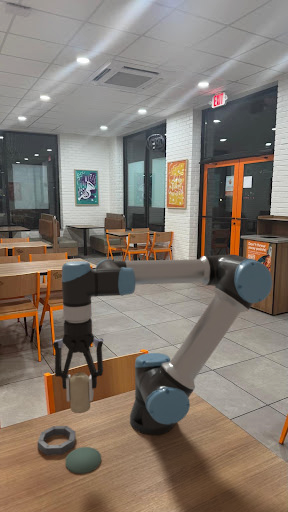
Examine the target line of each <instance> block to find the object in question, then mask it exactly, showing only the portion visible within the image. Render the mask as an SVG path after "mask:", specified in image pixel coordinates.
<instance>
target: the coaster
mask: <svg viewBox="0 0 288 512" xmlns="http://www.w3.org/2000/svg"><path fill="white" fill-rule="evenodd" d="M101 462H102V456H101V453H100V451H99V450H97V449H96V448H94V447H91V446H90V447H89V446H83V447H78V448H75V449H74V450H71V451H70V452H69V453H68V454H67V456H66V457H65V467H66V468H67V470H68V471H70V472H71V473H74V474H77V475H78V474H87V473H90V472H93V471H94V470H96V469H97V468H98V467H99V465H101Z"/></svg>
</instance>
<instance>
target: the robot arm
mask: <svg viewBox="0 0 288 512" xmlns="http://www.w3.org/2000/svg"><path fill="white" fill-rule="evenodd" d="M192 283H194V284H195V283H196V284H197V283H199V284H201V285H202V286H213V287H214V289H213V290H214V294H215V296H214V297H213V298H212V300H211V302H210V303H209V304H208V306H207V307H206V308H205V310H204V312H203V313H202V314H201V316H200V317H199V319H198V320H197V322H195V325H194V326H193V328H192V329H191V331H190V332H189V333H188V335H187V336H186V338H185V340H184V341H183V342H182V344H181V345H180V347H179V348H178V350H177V351H176V352H175V354H174V355H173V357H172V358H170V356H168V355H167V354H164V353H158V352H154V353H153V352H151V353H150V352H148V353H143V354H141V355H138V356H137V357H136V359H135V363H134V370H135V371H134V377H135V380H134V381H135V383H134V385H135V388H134V389H135V391H134V395H135V399H134V402H133V405H132V408H131V411H130V415H129V420H130V421H129V423H130V426H131V427H132V428H133V430H135V431H137V432H139V433H141V434H144V435H147V436H149V435H150V436H151V435H153V436H155V435H157V436H158V435H162V434H165V433H168V432H169V431H171V430H172V429H173V428H174V427H175V424H177V423H179V422H181V421H182V420H183V419H184V418H185V417H186V416H187V414H188V413H189V410H190V407H191V405H190V403H191V402H190V396H191V395H192V393H193V391H194V390H195V388H196V386H195V385H196V384H195V379H196V378H197V376H198V375H199V374H200V373H201V371H202V369H203V368H204V366H205V365H206V363H207V362H208V360H209V358H210V357H211V356H212V354H213V353H214V351H215V350H216V348H217V347H218V346H219V344H220V343H221V341H222V340H223V339H224V337H225V335H226V334H227V333H228V331H229V330H230V328H231V327H232V325H233V324H234V322H235V320H236V319H237V318H238V316H239V315H240V314H241V313H244V312H248V311H249V310H250V309H251V307H252V306H253V304H256V303H259V302H260V303H261V302H263V301H264V300H265V299H267V297H268V296H270V295H269V294H270V293H271V290H272V287H273V279H272V273H271V271H270V270H269V268H268V267H267V266H266V265H265V264H264V263H262V262H260V261H258V260H256V259H255V258H248V257H244V256H241V255H238V254H222V255H208V256H207V255H206V256H205V255H202V256H201V257H200V258H199V259H198V258H197V259H157V260H156V259H154V260H153V259H152V260H147V259H146V260H143V259H142V260H112V259H103V260H100V261H99V262H98V263H97V264H96V266H95V268H92V267H91V264H90V262H89V261H84V260H82V261H79V260H77V261H75V260H74V261H69V262H67V261H66V262H65V263H64V264H63V265H62V267H61V286H62V288H61V291H62V310H63V311H62V312H63V313H62V314H63V316H62V317H63V319H64V320H63V337H62V338H60V339H58V338H56V339H55V340H54V342H53V343H52V346H53V348H54V375H55V377H56V378H57V377H60V378H61V380H62V389H63V390H66V402H70V378H71V377H72V376H71V374H68V373H69V370H70V366H71V362H72V360H73V355H74V354H76V353H79V354H80V353H82V355H83V357H84V358H85V362H86V365H87V367H88V371H89V373H90V375H89V376H88V377H89V400H90V402H93V399H94V389H96V388H97V385H98V381H97V380H98V378H97V377H102V376H103V374H104V373H103V372H104V364H103V363H104V362H103V347H102V346H103V344H104V339H103V338H101V337H100V338H95V336H94V334H93V320H92V316H93V315H92V297H94V298H95V297H115V296H121V297H122V296H125V295H126V296H127V295H132V294H134V293H135V291H136V285H158V284H159V285H162V284H164V285H165V284H192ZM92 344H94V347H95V348H96V364H97V368H96V365H95V362H94V358H93V357H92V354H91V350H90V349H91V348H90V347H91V345H92ZM63 345H65V346H66V348H67V349H68V352H67V356H66V359H65V363H64V368H63V369H62V348H63Z"/></svg>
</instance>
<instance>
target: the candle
mask: <svg viewBox="0 0 288 512" xmlns="http://www.w3.org/2000/svg"><path fill="white" fill-rule="evenodd" d="M89 377H90V376H88V375H87V374H86V373H85V372H83V371H82V372H77V373H74V374H73V375H72V376H71V378H70V401H69V402H70V403H69V404H70V411H71V412H73V413H74V414H82V413H83V414H84V413H87V412H88V411H90V409H91V401H90V400H89Z"/></svg>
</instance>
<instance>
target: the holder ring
mask: <svg viewBox="0 0 288 512" xmlns="http://www.w3.org/2000/svg"><path fill="white" fill-rule="evenodd" d="M53 436H65V437H67V438H68V440H65V441H64V442H62V443H60V444H48V443H47V442H46V441H47V440H48V439H50V438H53ZM76 436H77V434H76V431H75V430H74V429H73V428H71V427H70V426H68V425H52V426H51V427H49V428H46V429H45V430H42V431H41V432H40V434H39V437H38V439H37V449H38V450H39V451H40V452H41V453H43V454H44V455H45V456H62V455H64V454H65V453H67V452H69V451H70V450H71V449H73V448H74V446H75V442H76V439H77V438H76Z"/></svg>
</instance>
